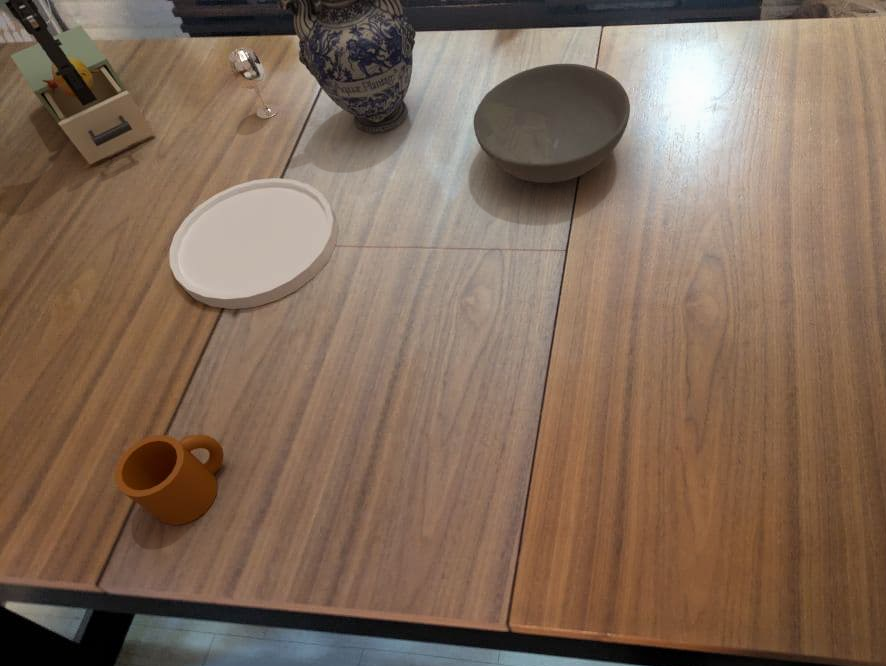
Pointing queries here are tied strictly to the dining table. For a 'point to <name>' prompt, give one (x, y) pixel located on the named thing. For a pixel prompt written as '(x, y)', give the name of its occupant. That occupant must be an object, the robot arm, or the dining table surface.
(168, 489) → the mug
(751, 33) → the dining table surface
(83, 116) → the drawer
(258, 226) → the plate
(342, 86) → the decorative vase
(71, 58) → the fruit
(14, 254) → the dining table surface
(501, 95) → the bowl
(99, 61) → the cabinet
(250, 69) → the wineglass
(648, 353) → the dining table surface
